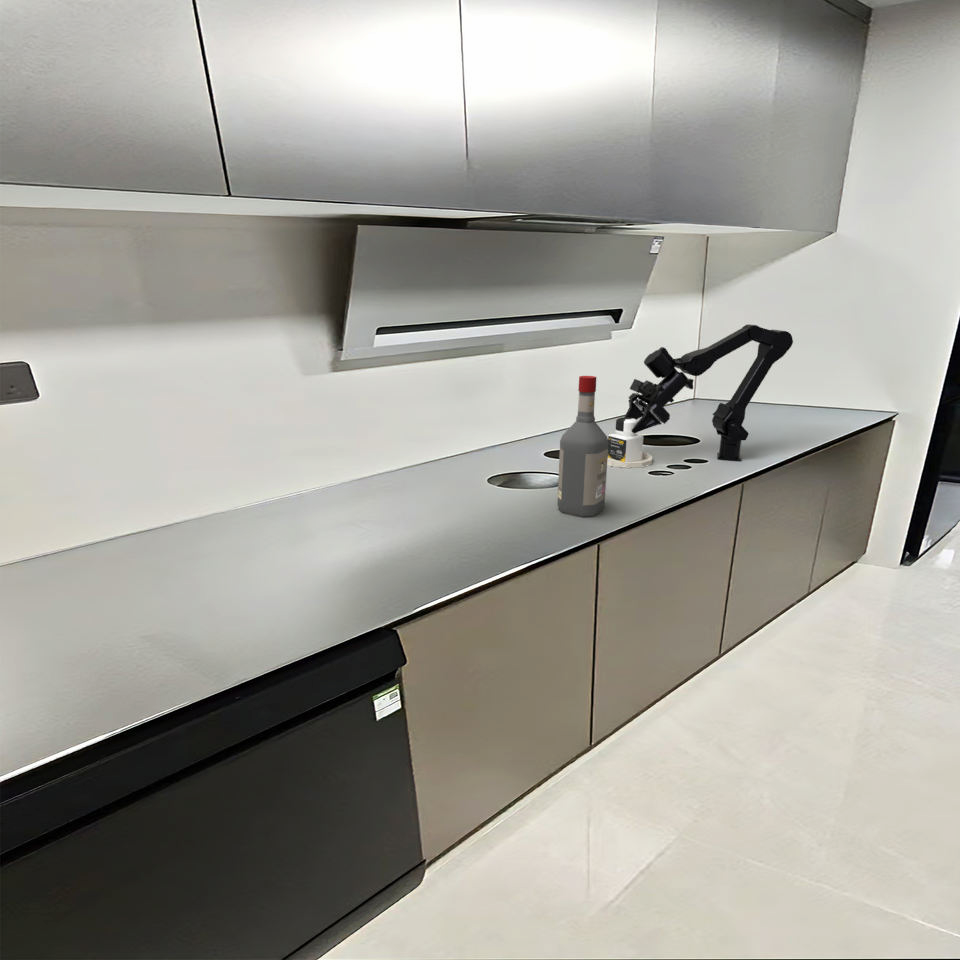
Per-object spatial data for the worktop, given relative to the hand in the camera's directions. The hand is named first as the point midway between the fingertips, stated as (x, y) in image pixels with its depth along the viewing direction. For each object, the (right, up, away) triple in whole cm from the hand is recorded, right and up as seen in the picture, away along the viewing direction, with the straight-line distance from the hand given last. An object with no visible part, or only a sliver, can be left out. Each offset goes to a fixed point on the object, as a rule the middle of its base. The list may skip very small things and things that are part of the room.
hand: (626, 428), depth 189 cm
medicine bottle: (0, -9, +3) cm, 9 cm away
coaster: (0, -9, +3) cm, 9 cm away
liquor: (-19, -22, -39) cm, 48 cm away
